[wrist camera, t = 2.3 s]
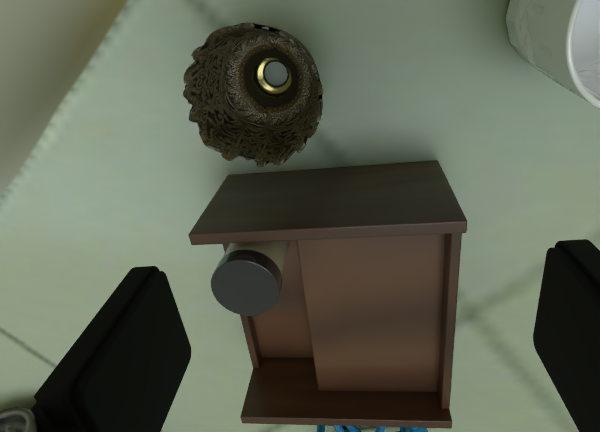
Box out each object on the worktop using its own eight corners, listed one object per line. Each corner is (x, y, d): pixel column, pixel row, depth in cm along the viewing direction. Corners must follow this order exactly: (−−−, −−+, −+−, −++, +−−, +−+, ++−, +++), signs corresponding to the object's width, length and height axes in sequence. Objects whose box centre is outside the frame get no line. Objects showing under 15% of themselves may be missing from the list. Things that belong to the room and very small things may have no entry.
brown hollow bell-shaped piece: (215, 109, 30) (174, 146, 23) (233, -1, 27) (190, 4, 20) (313, 138, 31) (301, 183, 24) (344, 33, 27) (341, 50, 20)
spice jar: (234, 205, 31) (203, 261, 24) (290, 202, 30) (273, 259, 24) (244, 253, 33) (218, 316, 26) (297, 251, 32) (284, 315, 26)
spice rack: (227, 175, 33) (187, 234, 25) (438, 160, 30) (467, 220, 23) (263, 340, 41) (242, 423, 33) (431, 339, 39) (451, 428, 31)
